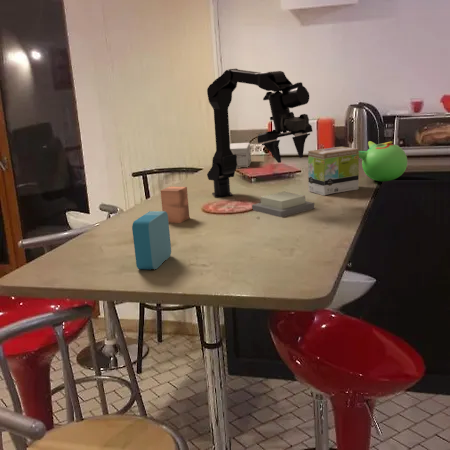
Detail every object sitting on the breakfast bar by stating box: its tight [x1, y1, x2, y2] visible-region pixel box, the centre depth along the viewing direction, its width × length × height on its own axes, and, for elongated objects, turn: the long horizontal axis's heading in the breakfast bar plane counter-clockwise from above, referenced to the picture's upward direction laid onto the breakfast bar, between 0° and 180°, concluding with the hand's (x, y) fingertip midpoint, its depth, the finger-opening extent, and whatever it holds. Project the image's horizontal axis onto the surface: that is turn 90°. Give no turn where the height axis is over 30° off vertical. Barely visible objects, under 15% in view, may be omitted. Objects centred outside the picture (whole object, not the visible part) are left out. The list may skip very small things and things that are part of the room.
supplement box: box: [230, 142, 252, 169], centre depth 277 cm, size 17×13×9 cm
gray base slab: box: [251, 200, 315, 218], centre depth 191 cm, size 14×14×2 cm
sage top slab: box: [260, 191, 306, 209], centre depth 190 cm, size 10×10×2 cm
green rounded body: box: [359, 140, 408, 183], centre depth 220 cm, size 18×17×15 cm
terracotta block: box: [160, 185, 190, 224], centre depth 186 cm, size 6×6×10 cm
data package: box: [131, 210, 172, 270], centre depth 146 cm, size 12×4×12 cm, turn 164°
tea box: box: [307, 146, 360, 196], centre depth 210 cm, size 15×10×15 cm
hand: (290, 160), depth 190 cm, fingers open, 9 cm apart
